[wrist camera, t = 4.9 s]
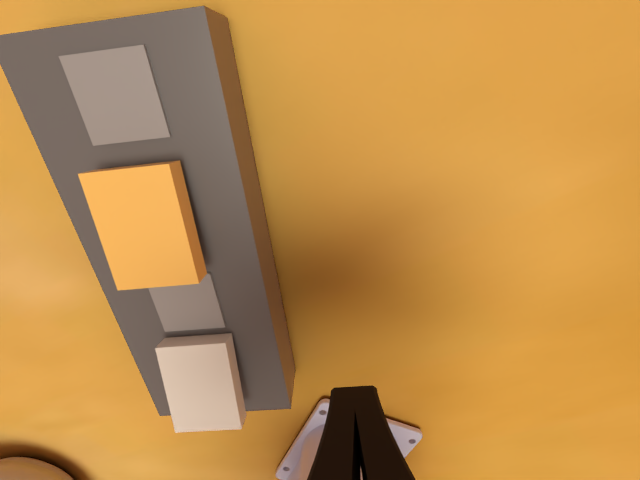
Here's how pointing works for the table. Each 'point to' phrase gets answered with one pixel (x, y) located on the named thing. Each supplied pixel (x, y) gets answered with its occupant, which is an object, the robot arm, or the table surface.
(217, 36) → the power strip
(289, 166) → the table surface
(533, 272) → the table surface
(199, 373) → the beige rectangular slab
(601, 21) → the table surface
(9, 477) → the teacup
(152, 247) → the block
